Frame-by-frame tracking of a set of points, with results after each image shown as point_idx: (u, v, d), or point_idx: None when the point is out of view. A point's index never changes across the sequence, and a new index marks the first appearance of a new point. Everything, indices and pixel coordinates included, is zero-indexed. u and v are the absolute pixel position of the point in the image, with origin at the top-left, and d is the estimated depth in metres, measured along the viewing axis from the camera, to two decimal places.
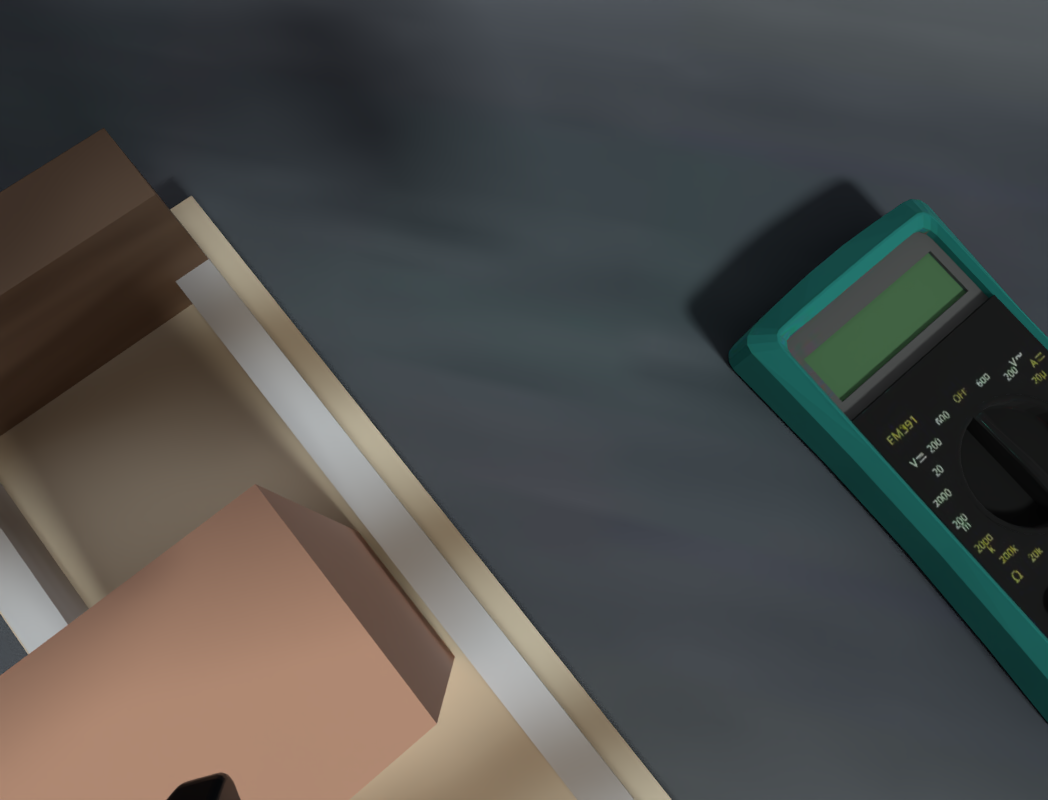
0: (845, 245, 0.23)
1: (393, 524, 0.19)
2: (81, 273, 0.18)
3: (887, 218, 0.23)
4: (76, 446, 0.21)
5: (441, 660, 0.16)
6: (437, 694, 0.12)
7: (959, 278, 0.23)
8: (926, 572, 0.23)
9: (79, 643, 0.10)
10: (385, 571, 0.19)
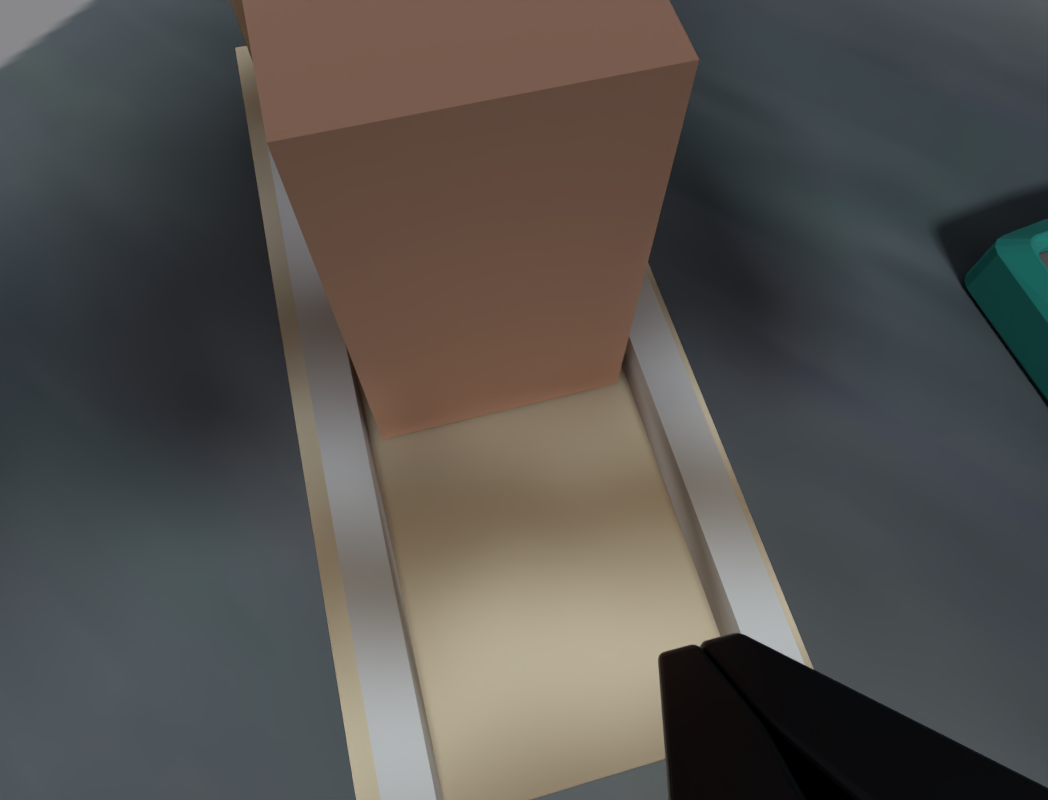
0: None
1: None
2: None
3: None
4: None
5: None
6: None
7: None
8: None
9: None
10: None
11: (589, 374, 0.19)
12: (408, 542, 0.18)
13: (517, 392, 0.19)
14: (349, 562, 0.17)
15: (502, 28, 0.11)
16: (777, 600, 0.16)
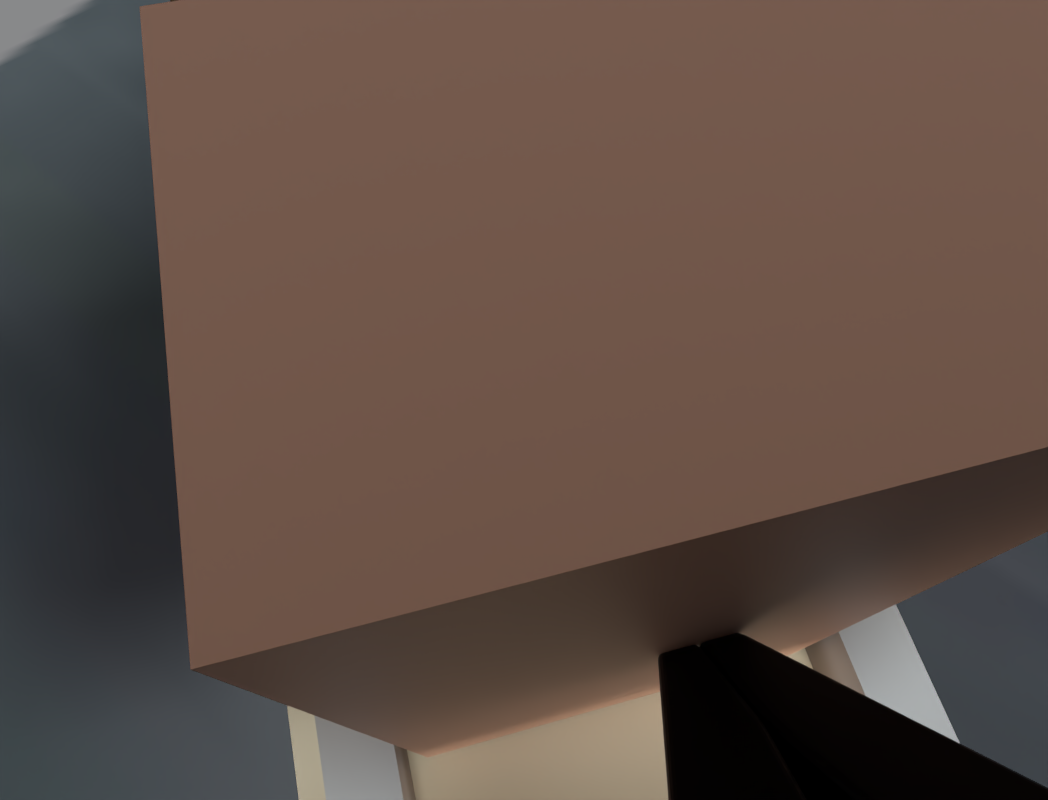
0: None
1: None
2: None
3: None
4: None
5: None
6: None
7: None
8: None
9: None
10: None
11: None
12: None
13: (646, 692, 0.12)
14: None
15: (854, 239, 0.04)
16: None
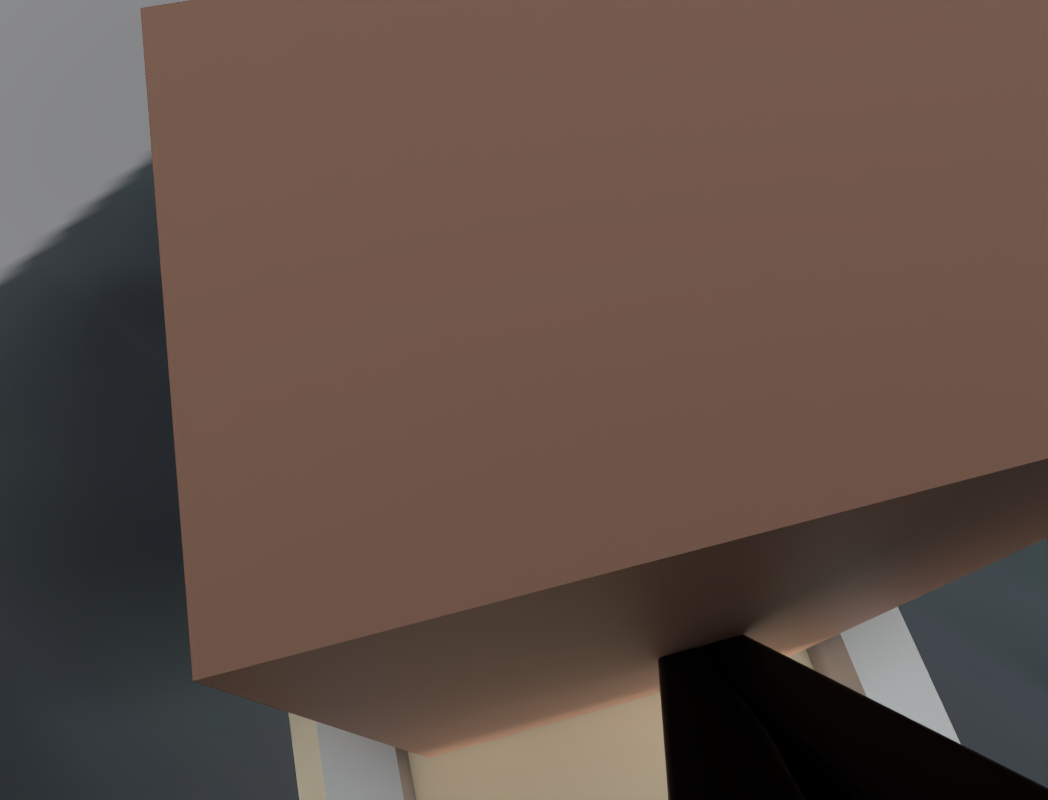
0: None
1: None
2: None
3: None
4: None
5: None
6: None
7: None
8: None
9: None
10: None
11: None
12: None
13: (647, 693, 0.12)
14: None
15: (860, 245, 0.04)
16: None
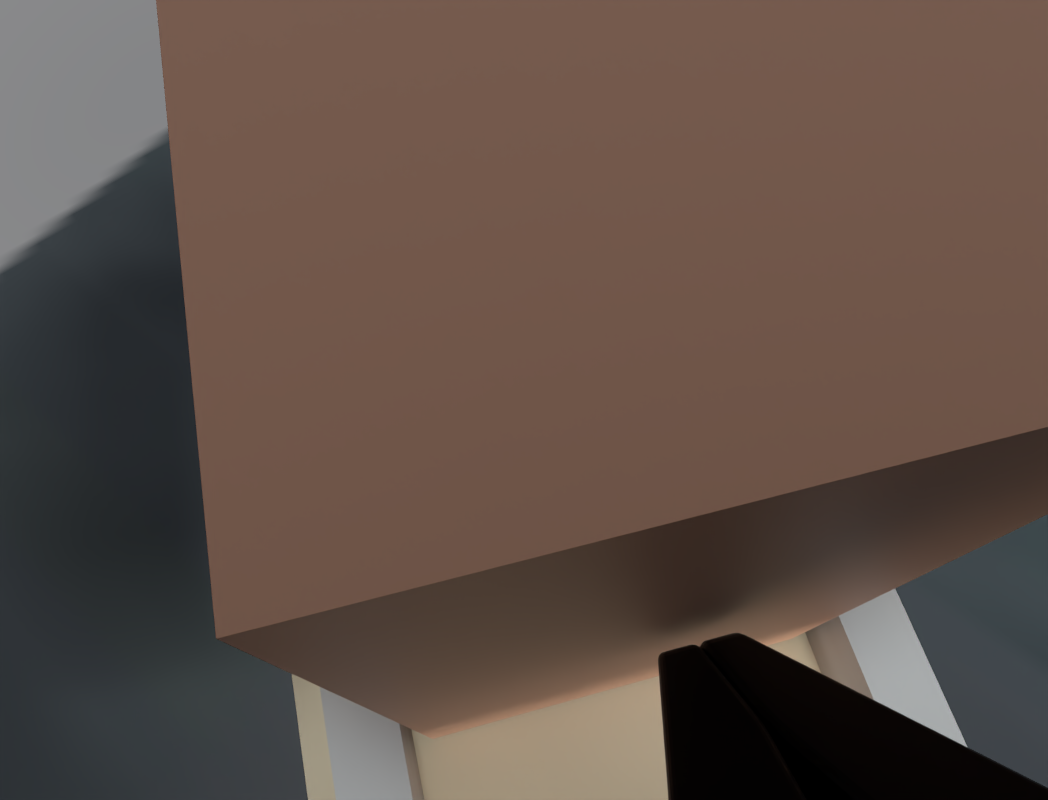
0: None
1: None
2: None
3: None
4: None
5: None
6: None
7: None
8: None
9: None
10: None
11: None
12: None
13: (648, 675, 0.12)
14: None
15: (857, 223, 0.04)
16: None
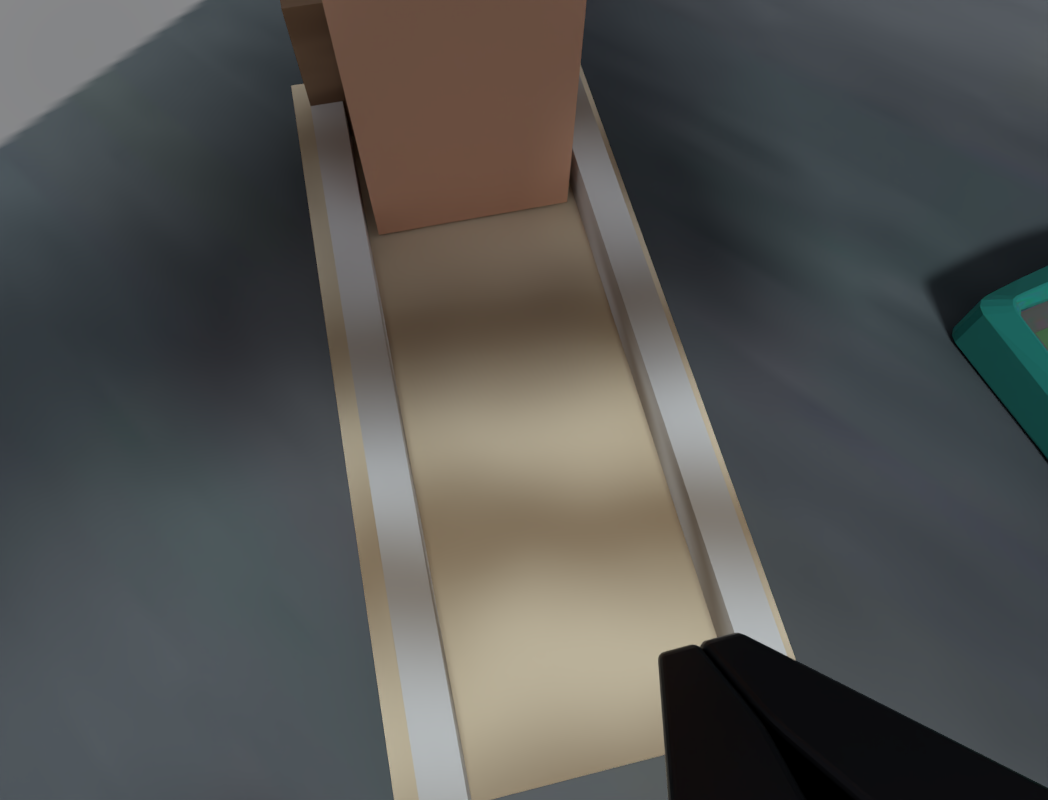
0: None
1: (635, 277, 0.22)
2: None
3: None
4: None
5: None
6: None
7: None
8: None
9: None
10: None
11: (543, 188, 0.24)
12: (441, 551, 0.20)
13: (485, 198, 0.24)
14: (391, 568, 0.19)
15: None
16: (772, 617, 0.18)
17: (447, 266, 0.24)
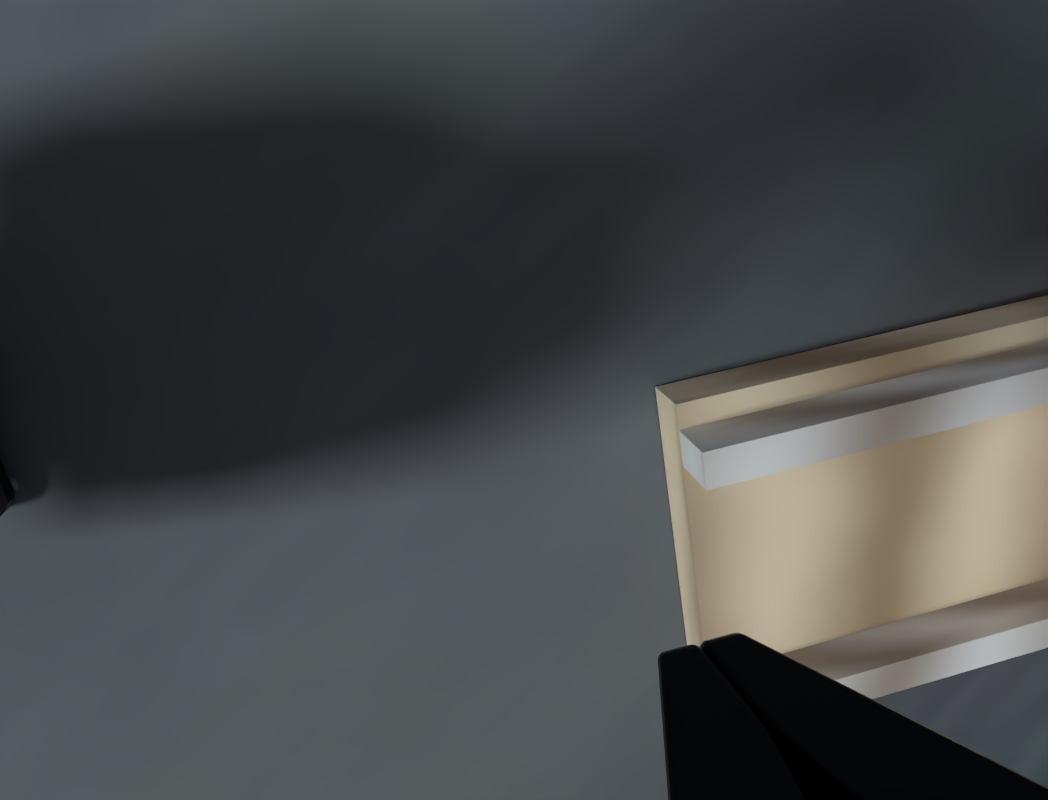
0: None
1: None
2: None
3: None
4: None
5: None
6: None
7: None
8: None
9: None
10: None
11: None
12: None
13: None
14: (909, 409, 0.19)
15: None
16: None
17: None
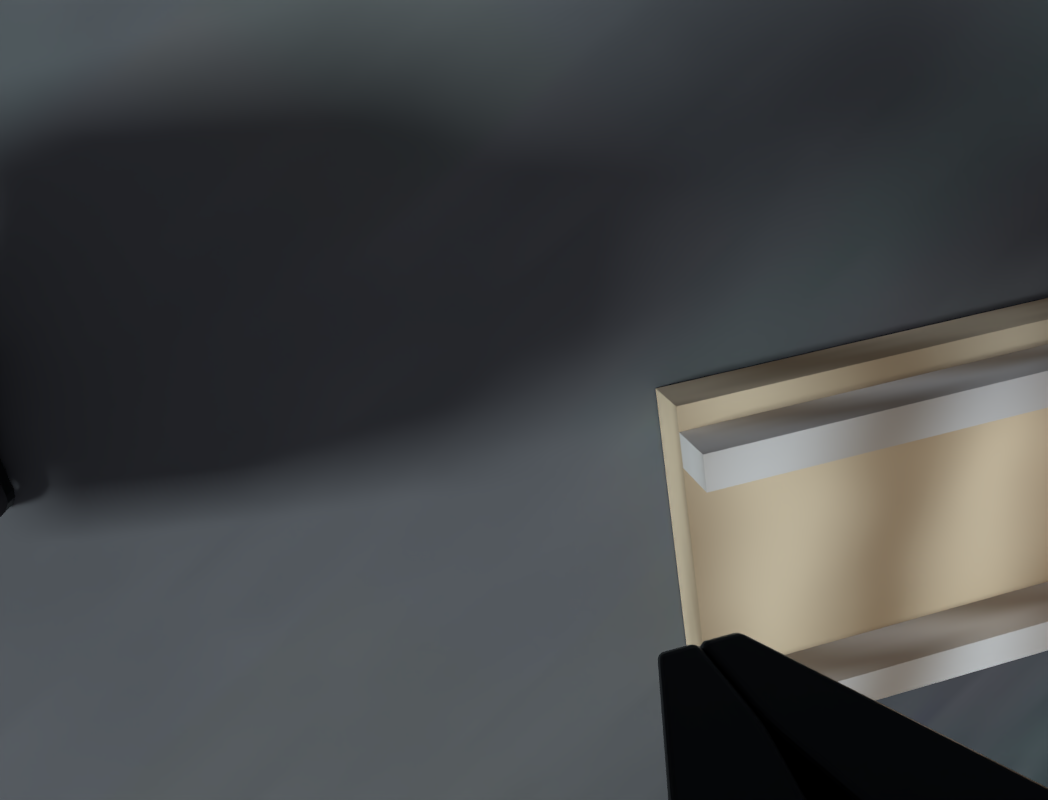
0: None
1: None
2: None
3: None
4: None
5: None
6: None
7: None
8: None
9: None
10: None
11: None
12: None
13: None
14: (909, 411, 0.19)
15: None
16: None
17: None
